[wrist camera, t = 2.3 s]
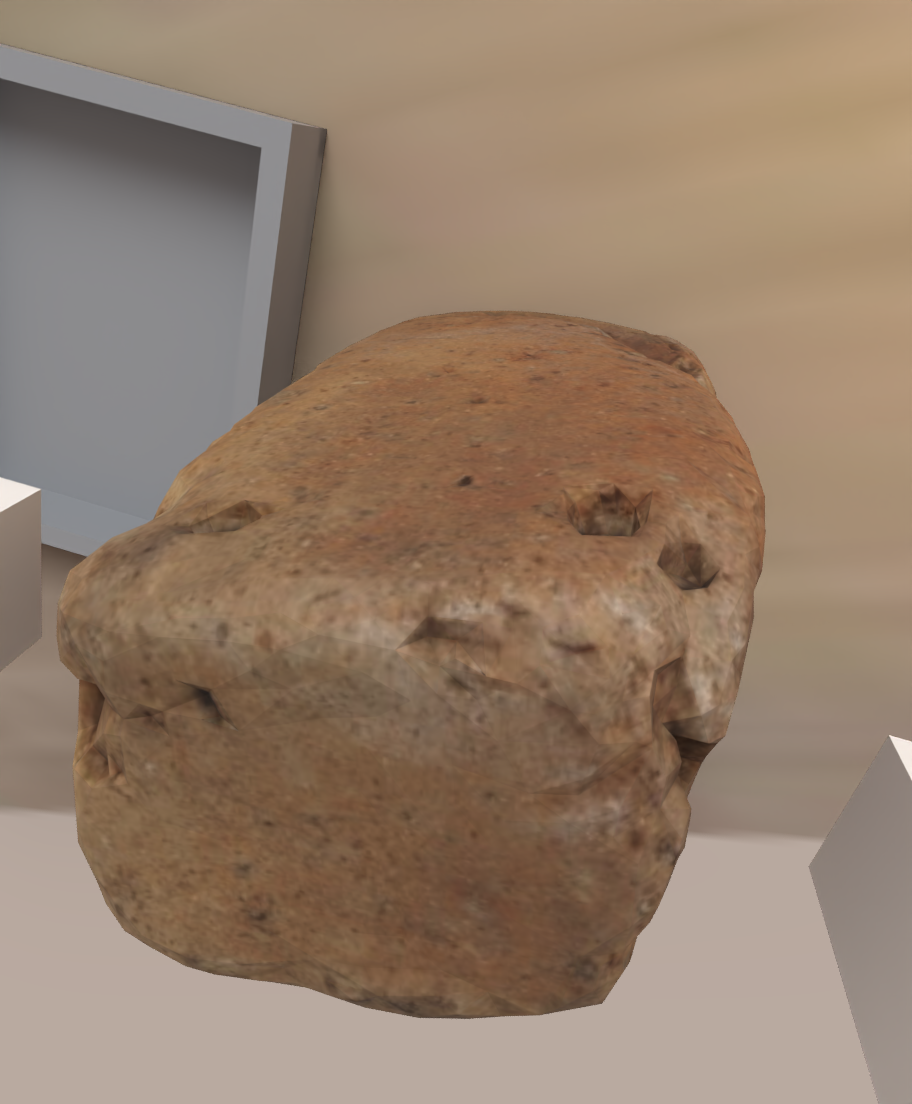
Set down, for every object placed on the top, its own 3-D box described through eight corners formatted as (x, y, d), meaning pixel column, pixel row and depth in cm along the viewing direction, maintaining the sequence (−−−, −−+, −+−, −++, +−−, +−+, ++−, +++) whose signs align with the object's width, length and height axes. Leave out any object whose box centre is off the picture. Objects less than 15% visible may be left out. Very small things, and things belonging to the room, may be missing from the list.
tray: (326, 129, 25) (292, 123, 22) (265, 565, 32) (233, 600, 29) (-51, 29, 26) (-128, 12, 23) (-32, 476, 33) (-89, 503, 30)
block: (390, 510, 30) (61, 1001, 12) (376, 299, 27) (-95, 540, 9) (694, 522, 28) (836, 1124, 10) (716, 297, 25) (979, 595, 7)
